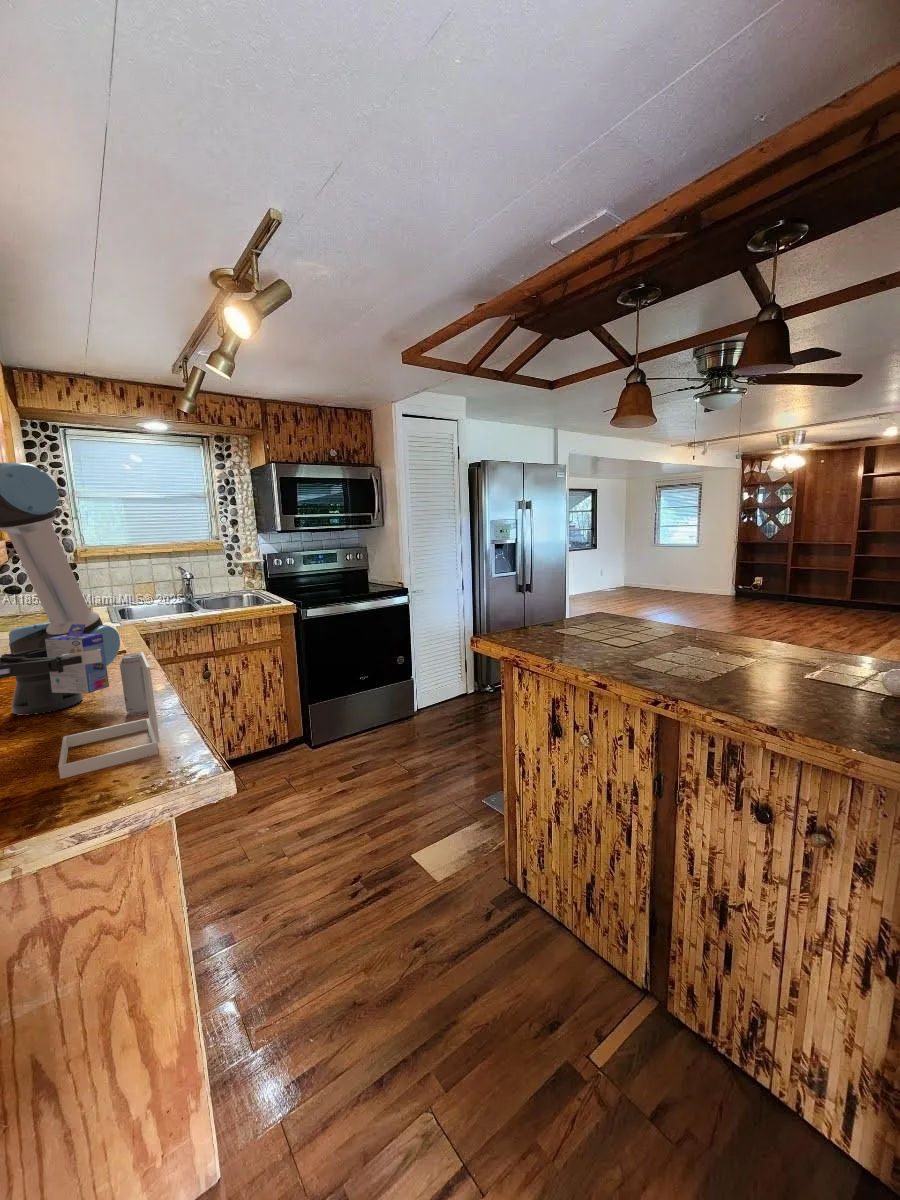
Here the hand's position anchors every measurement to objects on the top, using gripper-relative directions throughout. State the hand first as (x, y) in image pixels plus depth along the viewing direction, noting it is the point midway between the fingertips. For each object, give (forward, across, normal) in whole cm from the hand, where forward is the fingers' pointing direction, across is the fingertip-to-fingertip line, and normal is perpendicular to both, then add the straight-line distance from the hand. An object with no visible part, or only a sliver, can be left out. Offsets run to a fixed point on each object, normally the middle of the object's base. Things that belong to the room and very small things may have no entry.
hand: (99, 651), depth 110 cm
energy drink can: (+7, -13, -20) cm, 25 cm away
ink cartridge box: (-4, 0, -8) cm, 9 cm away
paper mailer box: (-1, +10, -20) cm, 22 cm away
